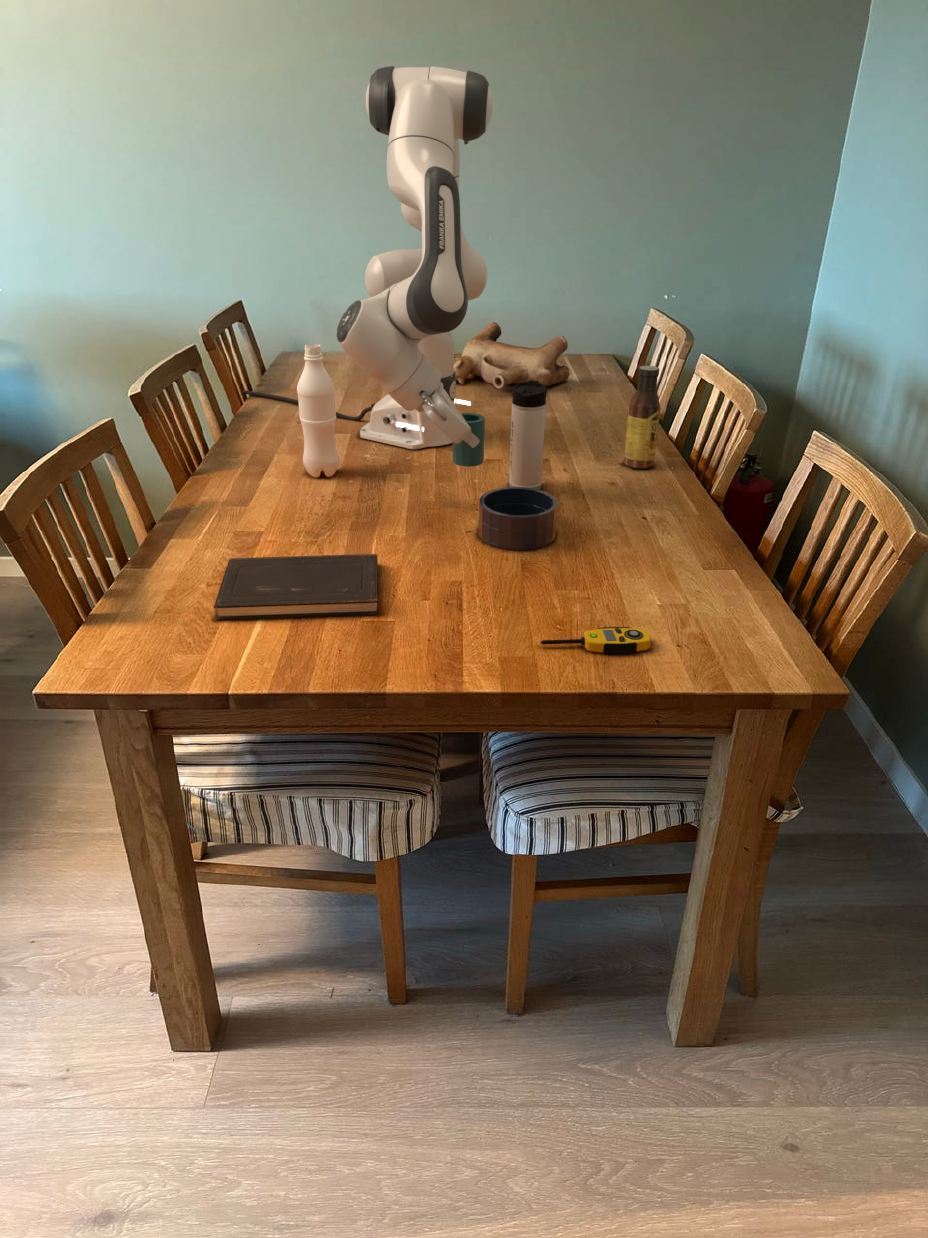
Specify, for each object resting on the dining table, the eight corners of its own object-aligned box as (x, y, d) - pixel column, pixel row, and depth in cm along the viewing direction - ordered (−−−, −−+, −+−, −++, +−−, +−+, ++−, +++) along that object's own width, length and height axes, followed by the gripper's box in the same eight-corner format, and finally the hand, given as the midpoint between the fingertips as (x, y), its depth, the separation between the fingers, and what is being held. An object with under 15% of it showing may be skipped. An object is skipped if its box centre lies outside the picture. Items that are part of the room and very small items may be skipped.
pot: (467, 542, 148) (468, 509, 145) (493, 513, 159) (494, 482, 156) (543, 555, 144) (545, 522, 141) (563, 525, 155) (566, 493, 152)
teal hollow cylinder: (447, 464, 156) (448, 420, 152) (459, 454, 160) (459, 411, 156) (476, 468, 154) (478, 424, 150) (487, 458, 159) (488, 414, 154)
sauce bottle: (653, 471, 178) (665, 373, 168) (622, 468, 179) (632, 371, 169) (653, 460, 184) (665, 364, 174) (623, 458, 185) (633, 362, 175)
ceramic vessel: (483, 312, 243) (427, 339, 227) (579, 337, 229) (527, 368, 213) (482, 357, 251) (428, 386, 235) (575, 384, 237) (524, 417, 221)
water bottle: (346, 470, 177) (339, 343, 164) (327, 482, 171) (318, 351, 159) (316, 464, 179) (307, 339, 167) (296, 476, 174) (285, 347, 161)
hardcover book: (378, 614, 127) (377, 600, 125) (215, 620, 125) (213, 606, 124) (377, 565, 140) (377, 552, 139) (231, 569, 139) (229, 556, 137)
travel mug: (545, 483, 172) (551, 381, 162) (536, 495, 166) (542, 390, 156) (514, 479, 173) (518, 378, 163) (504, 491, 168) (508, 387, 158)
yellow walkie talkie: (654, 641, 117) (543, 644, 116) (653, 653, 118) (542, 656, 117) (645, 623, 121) (538, 625, 120) (644, 635, 122) (537, 637, 121)
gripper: (441, 388, 139) (498, 443, 146) (419, 355, 156) (472, 407, 163) (413, 417, 140) (472, 471, 147) (395, 381, 157) (448, 431, 164)
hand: (471, 437), depth 155 cm, fingers closed on teal hollow cylinder, 5 cm apart
